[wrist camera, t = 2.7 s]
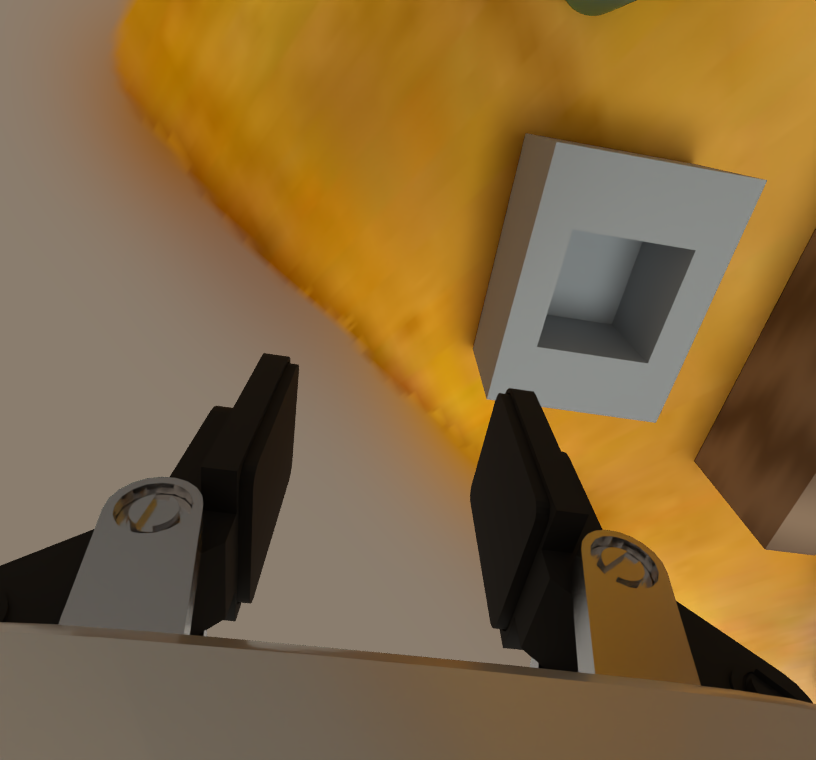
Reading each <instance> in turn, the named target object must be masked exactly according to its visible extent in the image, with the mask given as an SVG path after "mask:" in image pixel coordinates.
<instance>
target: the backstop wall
mask: <svg viewBox="0 0 816 760" xmlns="http://www.w3.org/2000/svg"><path fill="white" fill-rule="evenodd" d="M694 462H695V463H696V464H697V465H698V467H699V468H700V469H701V470H702V472H703V473H704V474H705V475H706V476H707V478H708V479H709V480H710V481H711V483H712V484H713V485H714V486H715V488H716V489H717V490H718V491H719V493H720V494H721V495H722V496H723V498H724V499H725V500H726V501H727V503H728V504H729V505H730V506H731V508H732V509H733V510H734V511H735V513H736V514H737V515H738V516H739V518H740V519H741V520H742V521H743V523H744V524H745V525H746V526H747V528H748V529H749V530H750V531H751V533H752V534H753V535H754V536H755V538H756V539H757V540H758V541H759V543H760V544H761V545H762V546H763V548H764V549H766V550H774V551H782V552H791V553H799V554H807V555H816V230H815V231H814V233H813V235H812V237H811V239H810V241H809V243H808V245H807V247H806V249H805V251H804V252H803V254H802V256H801V258H800V260H799V262H798V264H797V266H796V268H795V270H794V272H793V274H792V275H791V277H790V279H789V281H788V283H787V285H786V287H785V289H784V291H783V293H782V295H781V297H780V298H779V300H778V302H777V304H776V306H775V308H774V310H773V312H772V314H771V316H770V318H769V320H768V321H767V323H766V325H765V327H764V329H763V331H762V333H761V335H760V337H759V339H758V341H757V342H756V344H755V346H754V348H753V350H752V352H751V354H750V356H749V358H748V360H747V362H746V364H745V365H744V367H743V369H742V371H741V373H740V375H739V377H738V379H737V381H736V383H735V385H734V387H733V388H732V390H731V392H730V394H729V396H728V398H727V400H726V402H725V404H724V406H723V408H722V409H721V411H720V413H719V415H718V417H717V419H716V421H715V423H714V425H713V427H712V429H711V431H710V432H709V434H708V436H707V438H706V440H705V442H704V444H703V446H702V448H701V450H700V452H699V454H698V455H697V457H696V459H695V461H694Z"/></svg>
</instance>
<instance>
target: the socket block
mask: <svg viewBox="0 0 816 760" xmlns="http://www.w3.org/2000/svg"><path fill="white" fill-rule="evenodd" d="M766 182H767V180H763V179H759V178H754V177H750V176H745V175H741V174H736V173H732V172H727V171H723V170H719V169H714V168H710V167H705V166H701V165H696V164H691V163H685V162H680V161H675V160H669V159H664V158H658V157H653V156H647V155H642V154H636V153H631V152H626V151H620V150H615V149H609V148H604V147H598V146H593V145H587V144H582V143H577V142H571V141H566V140H560V139H555V138H549V137H544V136H538V135H533V134H528V133H526V134H525V138H524V142H523V146H522V151H521V155H520V159H519V163H518V167H517V171H516V175H515V179H514V183H513V187H512V191H511V196H510V200H509V204H508V208H507V212H506V216H505V220H504V224H503V228H502V232H501V236H500V241H499V245H498V249H497V253H496V257H495V261H494V265H493V269H492V273H491V277H490V282H489V286H488V290H487V294H486V298H485V302H484V306H483V310H482V314H481V318H480V322H479V327H478V331H477V335H476V339H475V343H474V347H473V351H474V354H475V358H476V362H477V365H478V369H479V373H480V376H481V380H482V383H483V387H484V391H485V394H486V398H487V399H490V400H496V397H497V395H498V394H499V393H503V394H505V393H506V391H507V389H508V388H513V389H520V390H527V391H534V393H535V394H536V396H537V399H538V401H539V403H540V405H541V407H547V408H554V409H562V410H569V411H576V412H583V413H590V414H597V415H605V416H612V417H619V418H626V419H633V420H640V421H648V422H655V423H656V421H657V419H658V417H659V415H660V412H661V410H662V408H663V406H664V404H665V402H666V399H667V397H668V395H669V393H670V391H671V389H672V386H673V384H674V382H675V380H676V378H677V375H678V373H679V371H680V369H681V367H682V365H683V362H684V360H685V358H686V356H687V354H688V352H689V349H690V347H691V345H692V343H693V341H694V338H695V336H696V334H697V332H698V330H699V328H700V325H701V323H702V321H703V319H704V317H705V314H706V312H707V310H708V308H709V306H710V304H711V301H712V299H713V297H714V295H715V293H716V291H717V288H718V286H719V284H720V282H721V280H722V277H723V275H724V273H725V271H726V269H727V267H728V264H729V262H730V260H731V258H732V256H733V254H734V251H735V249H736V247H737V245H738V243H739V240H740V238H741V236H742V234H743V232H744V230H745V227H746V225H747V223H748V221H749V219H750V217H751V214H752V212H753V210H754V208H755V206H756V203H757V201H758V199H759V197H760V195H761V193H762V190H763V188H764V186H765V184H766Z"/></svg>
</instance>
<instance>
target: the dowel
mask: <svg viewBox="0 0 816 760" xmlns="http://www.w3.org/2000/svg"><path fill="white" fill-rule="evenodd" d="M566 1H567V2H568V4H569V5H570V6H571V7H572V8H573V9H574V10H576V11H577V12H579V13H581V14H584V15H589V16H597V15H602V14H605V13H608V12H610V11H612V10H615V9H617V8H619V7H622V6H624V5H627V4H629V3H631V2H634V1H636V0H566Z"/></svg>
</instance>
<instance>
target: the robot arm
mask: <svg viewBox="0 0 816 760" xmlns="http://www.w3.org/2000/svg"><path fill="white" fill-rule="evenodd" d="M298 374H299V365H297V364H290V357H286V356H279V355H273V354H266V353H264V354H263V355H262V357H261V359H260V360H259V362H258V364H257V366H256V368H255V369H254V371H253V373H252V375H251V377H250V378H249V380H248V382H247V384H246V386H245V387H244V389H243V391H242V393H241V395H240V396H239V398H238V400H237V402H236V404H235V405H234V407H233V408H229V407H222V406H215V407H213V409H212V410H211V411H210V413H209V414H208V416H207V418H206V419H205V421H204V423H203V424H202V426H201V427H200V429H199V431H198V432H197V434H196V435H195V437H194V439H193V440H192V442H191V444H190V445H189V447H188V448H187V450H186V452H185V453H184V455H183V456H182V458H181V460H180V461H179V463H178V465H177V466H176V468H175V469H174V471H173V472H172V474H171V476H170V477H156V478H147V479H143V480H140V481H136V482H133V483H131V484H129V485H127V486H125V487H123V488H121V489H119V490H118V491H117V492H116V493H114V494H113V495H112V496H111V497H110V498H109V499H108V500H107V502H106V504H105V505H104V507H103V509H102V511H101V514H100V516H99V519H98V521H97V524H96V527H95V529H93V530H91V531H88V532H86V533H83V534H80V535H78V536H75V537H73V538H70V539H68V540H65V541H63V542H60V543H58V544H55V545H52V546H50V547H47V548H45V549H42V550H40V551H37V552H34V553H32V554H29V555H27V556H24V557H22V558H19V559H17V560H14V561H11V562H9V563H7V564H4V565H1V566H0V760H816V704H813V702H812V701H811V699H810V698H809V697H808V696H807V695H806V694H805V693H804V692H803V691H802V690H801V689H800V687H799V686H798V685H797V684H796V683H794V682H793V681H792V680H791V679H789V678H788V677H787V676H786V675H784V674H783V673H782V672H780V671H779V670H778V669H776V668H775V667H773V666H772V665H770V664H769V663H767V662H766V661H764V660H763V659H761V658H760V657H758V656H757V655H755V654H754V653H752V652H751V651H749V650H748V649H746V648H745V647H744V646H742V645H741V644H739V643H738V642H736V641H735V640H733V639H732V638H730V637H729V636H727V635H726V634H724V633H723V632H721V631H720V630H718V629H717V628H715V627H714V626H712V625H711V624H710V623H708V622H707V621H705V620H704V619H702V618H701V617H699V616H698V615H696V614H695V613H693V612H692V611H690V610H689V609H687V608H686V607H684V606H683V605H681V604H680V603H678V602H677V601H676V600H675V596H674V593H673V590H672V586H671V583H670V579H669V576H668V573H667V571H666V569H665V567H664V565H663V563H662V561H661V560H660V559H659V558H658V557H657V555H656V554H655V553H654V552H653V551H652V550H650V549H649V548H648V547H647V546H646V545H644V544H643V543H641V542H640V541H638V540H636V539H634V538H633V537H631V536H628V535H625V534H623V533H620V532H616V531H610V530H602V528H601V525H600V523H599V521H598V519H597V517H596V515H595V512H594V510H593V508H592V506H591V504H590V502H589V499H588V497H587V495H586V493H585V491H584V489H583V486H582V484H581V482H580V480H579V478H578V476H577V473H576V471H575V469H574V467H573V465H572V463H571V460H570V458H569V457H568V455H567V454H566V453H565V452H561V450H560V448H559V446H558V443H557V441H556V439H555V437H554V435H553V432H552V430H551V428H550V426H549V423H548V421H547V419H546V417H545V414H544V412H543V410H542V408H541V405H540V403H539V401H538V399H537V396H536V394H535V393H534V391H527V390H520V389H513V388H508V389H507V391H506V393H505V394H503V393H499V394H498V395H497V397H496V400H495V404H494V407H493V411H492V415H491V418H490V422H489V425H488V429H487V432H486V436H485V440H484V443H483V447H482V450H481V454H480V457H479V461H478V464H477V468H476V472H475V475H474V479H473V483H472V486H471V493H470V502H471V508H472V514H473V520H474V526H475V532H476V539H477V545H478V551H479V556H480V563H481V568H482V575H483V580H484V587H485V593H486V599H487V605H488V611H489V617H490V623H491V626H492V627H493V628H496V629H500V634H501V639H502V645H503V648H511V649H519V650H524V651H525V652H526V653H528V654H529V655H530V656H531V657H532V658H531V664H530V667H522V666H512V665H502V664H492V663H482V662H471V661H461V660H452V659H451V660H450V659H441V658H430V657H421V656H411V655H400V654H390V653H379V652H368V651H358V650H348V649H338V648H327V647H317V646H306V645H294V644H284V643H273V642H272V643H271V642H261V641H250V640H239V639H228V638H218V637H207V629H208V628H210V627H212V626H213V625H215V624H217V623H219V622H220V621H222V620H228V621H236V618H237V615H238V612H239V608H240V605H241V602H242V603H252V600H253V598H254V595H255V591H256V588H257V584H258V581H259V578H260V574H261V571H262V568H263V565H264V561H265V558H266V555H267V551H268V548H269V545H270V541H271V538H272V535H273V531H274V528H275V525H276V522H277V518H278V515H279V511H280V508H281V505H282V502H283V498H284V495H285V492H286V488H287V485H288V482H289V478H290V474H291V468H292V457H293V443H294V430H295V415H296V402H297V389H298Z"/></svg>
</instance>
